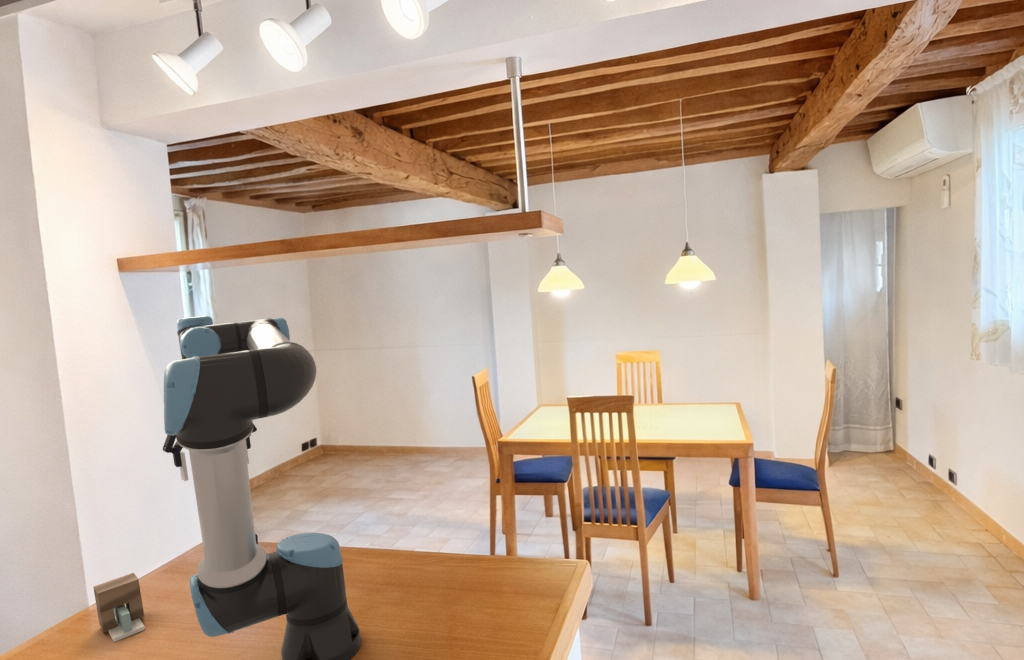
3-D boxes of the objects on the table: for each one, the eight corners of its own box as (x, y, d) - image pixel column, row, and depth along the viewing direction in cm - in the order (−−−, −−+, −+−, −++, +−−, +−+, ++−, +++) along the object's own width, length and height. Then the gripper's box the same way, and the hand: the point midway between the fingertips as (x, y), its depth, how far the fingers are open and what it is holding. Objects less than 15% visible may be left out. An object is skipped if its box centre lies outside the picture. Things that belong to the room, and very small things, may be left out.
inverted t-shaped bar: (144, 629, 137) (141, 609, 137) (113, 642, 133) (110, 621, 133) (130, 606, 148) (127, 587, 148) (101, 617, 144) (97, 598, 144)
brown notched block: (144, 616, 142) (138, 579, 141) (103, 632, 136) (97, 593, 135) (139, 608, 145) (133, 572, 144) (99, 624, 140) (93, 586, 139)
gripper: (251, 372, 154) (262, 454, 156) (138, 392, 137) (153, 484, 139) (263, 373, 149) (274, 459, 151) (147, 394, 132) (161, 490, 134)
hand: (216, 471), depth 145 cm, fingers open, 13 cm apart
